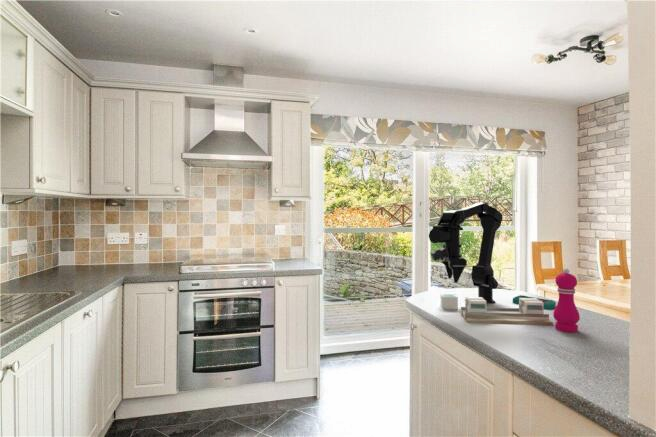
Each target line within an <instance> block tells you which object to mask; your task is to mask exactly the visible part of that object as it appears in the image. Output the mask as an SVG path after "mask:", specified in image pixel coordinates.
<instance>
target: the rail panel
mask: <svg viewBox="0 0 656 437" xmlns="http://www.w3.org/2000/svg"><path fill="white" fill-rule="evenodd" d="M537 298H538V297H533V298H519V304H518V307H487V304H488V303H486V300H484V299H483V298H482V297H478V296H465V300H464V301H465V306H460V308H459V313H460V314H461V316H462V317H463V319H464V320H465V321H466V322H467V323H481V324H482V323H483V324H486V323H487V324H488V323H491V324H515V325H516V324H517V325H518V324H520V325H521V324H523V325H524V324H526V325H554V321H553V320H551V319H550V314H548V313H544V311H545V309H544V303H543V302H542V301H540V300H538V299H537Z"/></svg>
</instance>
